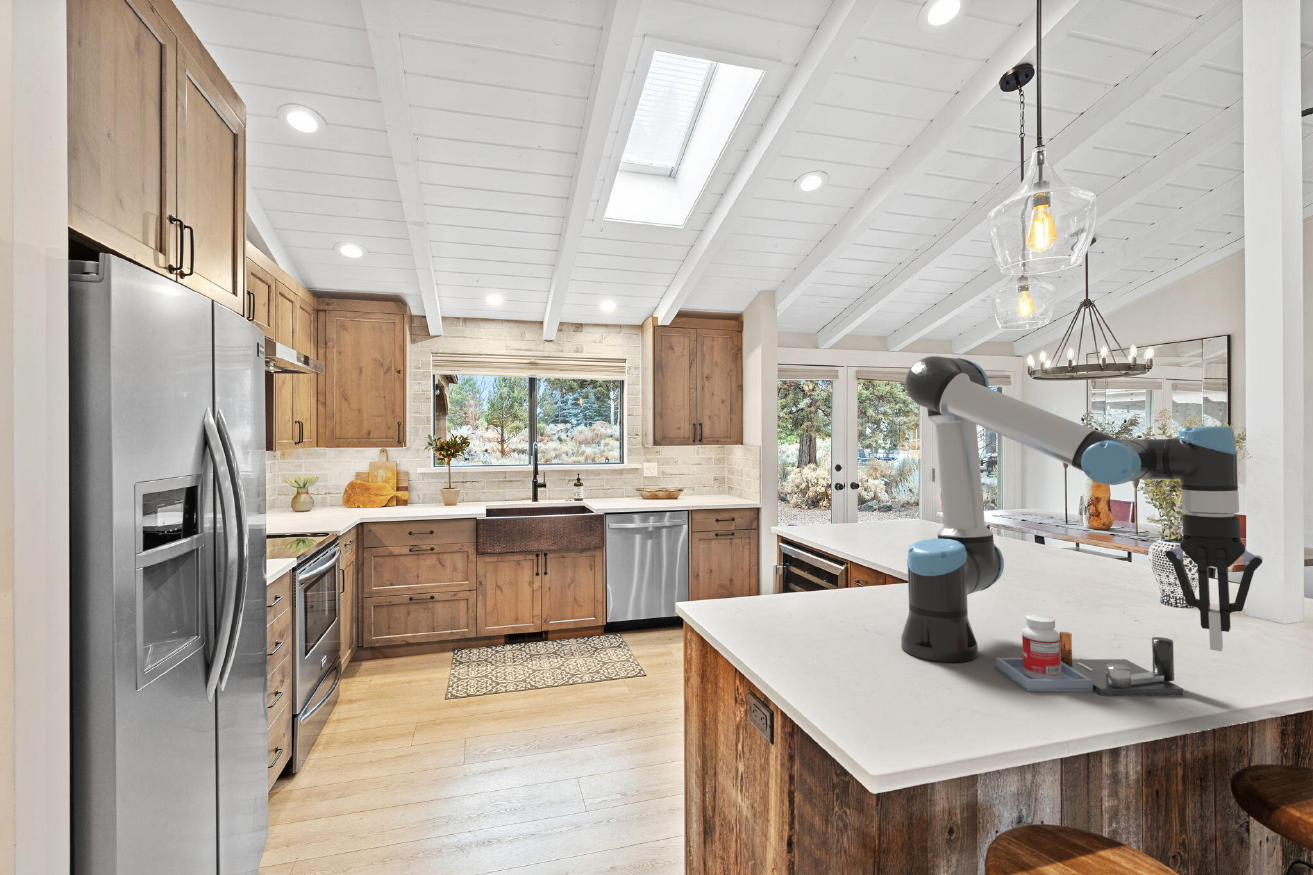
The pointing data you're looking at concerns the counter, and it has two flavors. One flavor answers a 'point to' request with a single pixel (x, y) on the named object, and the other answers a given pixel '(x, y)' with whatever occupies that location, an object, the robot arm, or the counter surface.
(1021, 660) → the tray
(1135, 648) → the counter surface
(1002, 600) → the counter surface
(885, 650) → the counter surface
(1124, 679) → the crank
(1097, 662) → the dial plate
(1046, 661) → the pill bottle
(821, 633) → the counter surface
